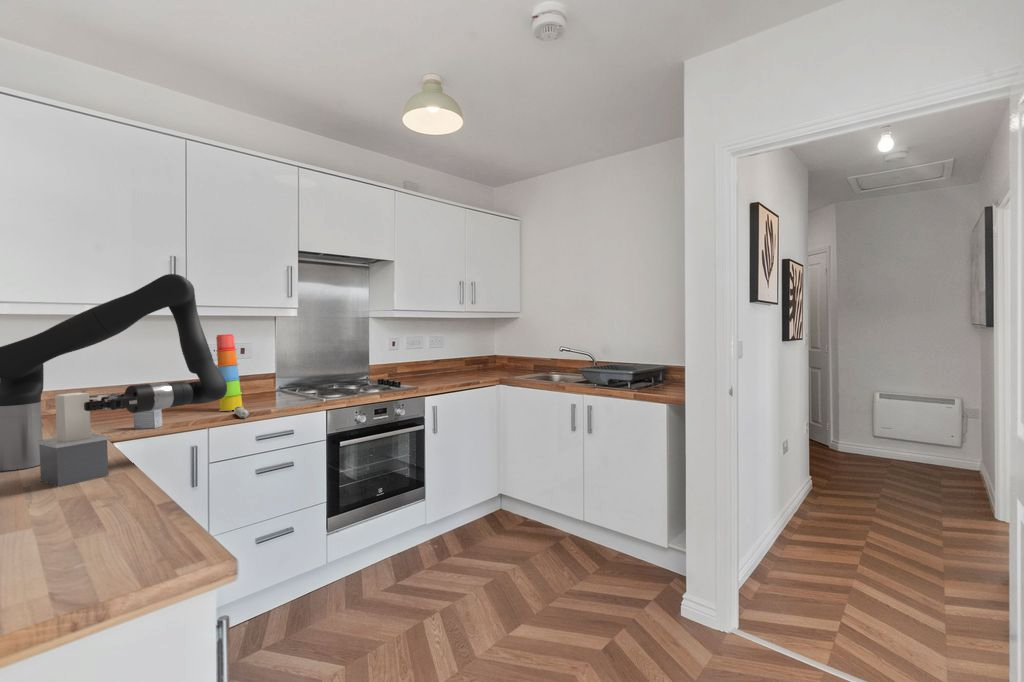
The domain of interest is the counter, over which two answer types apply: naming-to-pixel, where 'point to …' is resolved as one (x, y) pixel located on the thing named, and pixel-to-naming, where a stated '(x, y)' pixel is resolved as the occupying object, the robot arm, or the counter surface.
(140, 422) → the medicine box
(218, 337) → the stacking cups
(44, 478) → the block
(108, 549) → the counter surface
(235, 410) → the grey rock
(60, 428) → the cream block
